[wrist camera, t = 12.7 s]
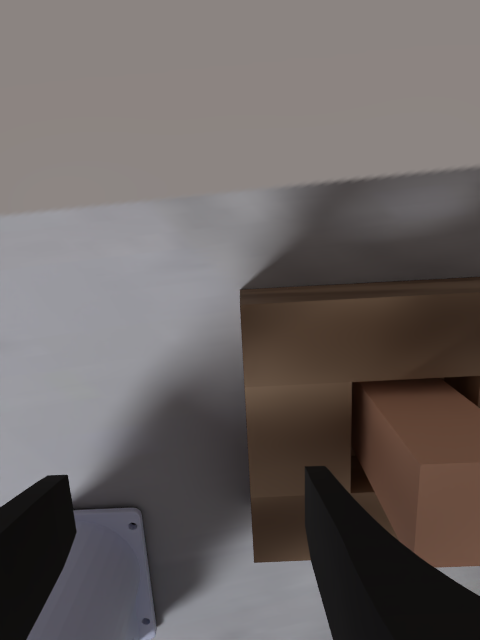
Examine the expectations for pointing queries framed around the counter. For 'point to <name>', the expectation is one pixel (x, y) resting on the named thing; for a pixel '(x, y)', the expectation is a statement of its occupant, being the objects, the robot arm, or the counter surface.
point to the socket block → (338, 383)
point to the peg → (422, 464)
